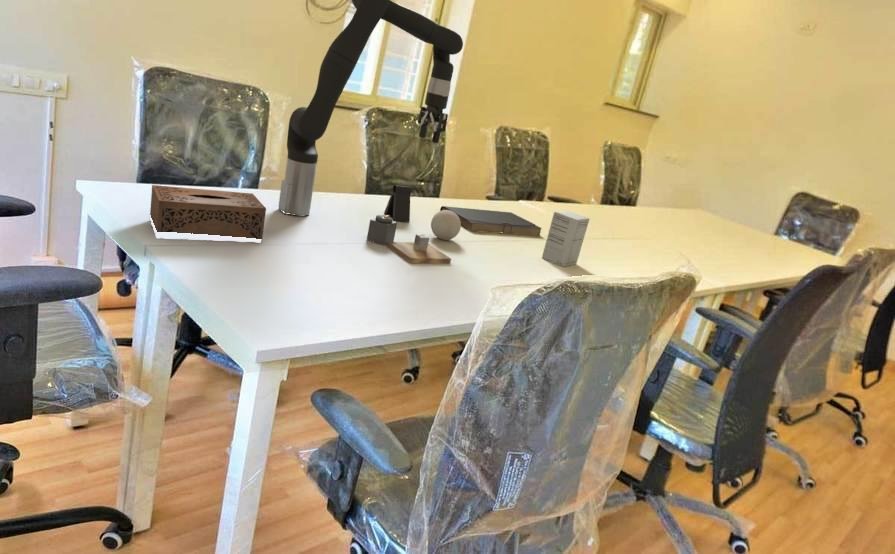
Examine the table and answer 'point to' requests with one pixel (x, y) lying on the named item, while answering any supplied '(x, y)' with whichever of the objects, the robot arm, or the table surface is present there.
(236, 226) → the tissue box cover
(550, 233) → the supplement box
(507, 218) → the file folder
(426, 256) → the base plate
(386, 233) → the knob
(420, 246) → the matte grey cube
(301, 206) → the robot arm
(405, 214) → the phone stand
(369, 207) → the table surface
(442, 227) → the eye model
